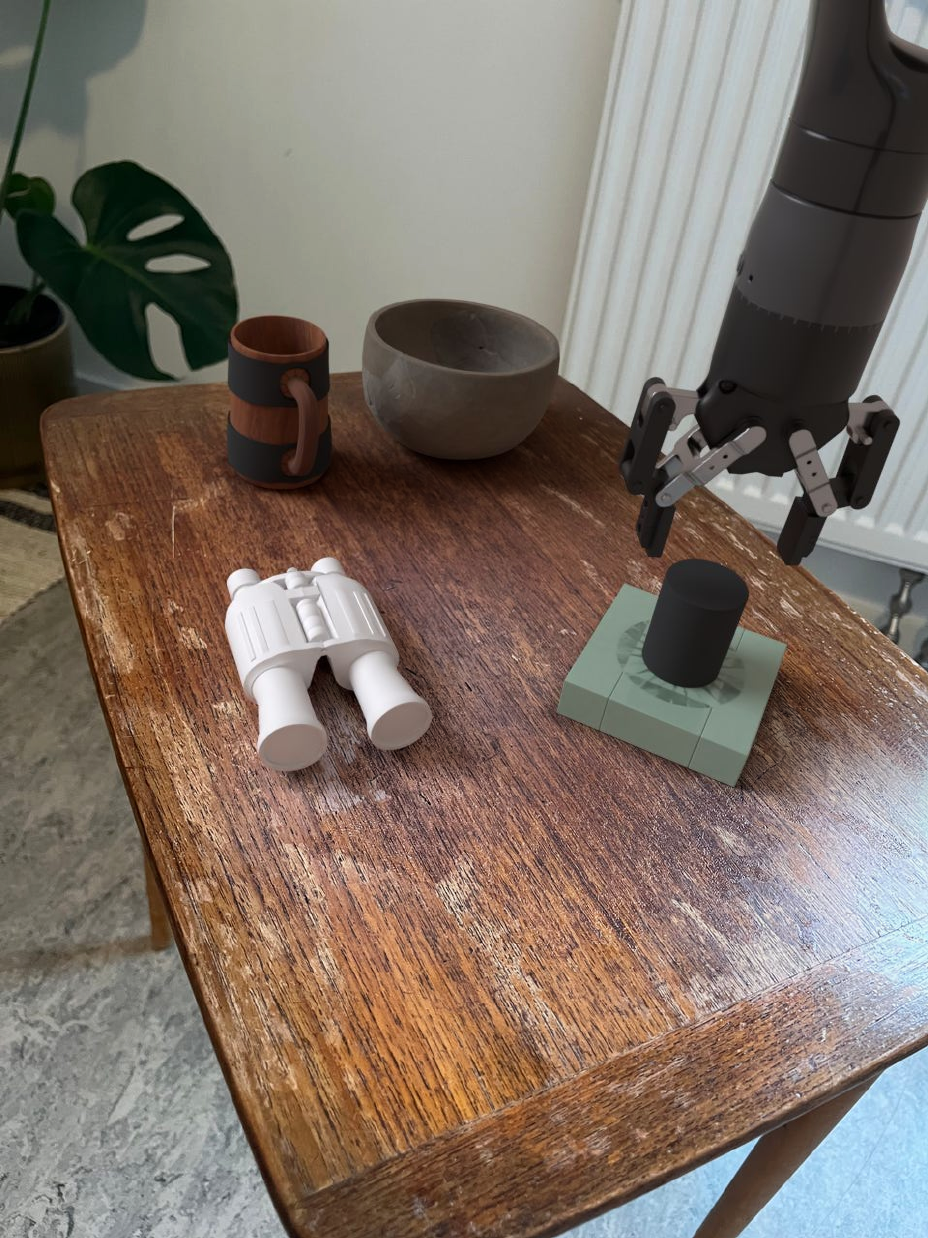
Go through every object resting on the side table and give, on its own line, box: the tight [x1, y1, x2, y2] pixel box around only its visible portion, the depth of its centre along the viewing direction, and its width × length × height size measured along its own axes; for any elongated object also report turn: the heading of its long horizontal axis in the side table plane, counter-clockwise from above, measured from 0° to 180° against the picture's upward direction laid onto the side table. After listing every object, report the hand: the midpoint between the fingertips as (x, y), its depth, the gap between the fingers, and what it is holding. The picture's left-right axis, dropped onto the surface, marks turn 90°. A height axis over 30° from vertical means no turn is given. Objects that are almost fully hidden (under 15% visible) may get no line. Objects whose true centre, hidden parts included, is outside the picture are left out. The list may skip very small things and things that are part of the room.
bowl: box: [361, 298, 561, 461], centre depth 86 cm, size 17×18×10 cm
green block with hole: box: [556, 583, 788, 788], centre depth 65 cm, size 12×12×3 cm
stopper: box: [642, 558, 750, 688], centre depth 62 cm, size 5×5×9 cm
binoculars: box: [224, 557, 433, 772], centre depth 61 cm, size 10×16×5 cm, turn 21°
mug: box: [226, 314, 333, 490], centre depth 77 cm, size 9×12×12 cm
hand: (719, 554), depth 58 cm, fingers open, 8 cm apart
